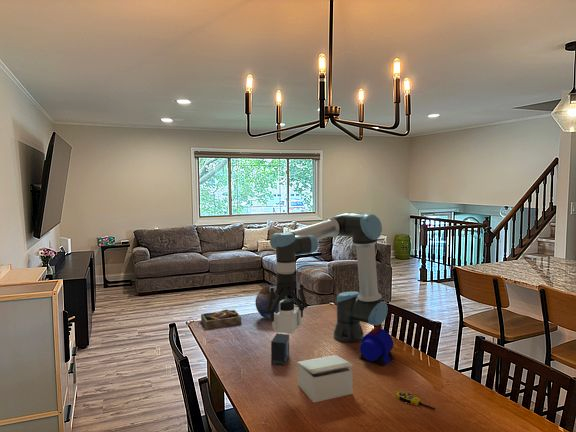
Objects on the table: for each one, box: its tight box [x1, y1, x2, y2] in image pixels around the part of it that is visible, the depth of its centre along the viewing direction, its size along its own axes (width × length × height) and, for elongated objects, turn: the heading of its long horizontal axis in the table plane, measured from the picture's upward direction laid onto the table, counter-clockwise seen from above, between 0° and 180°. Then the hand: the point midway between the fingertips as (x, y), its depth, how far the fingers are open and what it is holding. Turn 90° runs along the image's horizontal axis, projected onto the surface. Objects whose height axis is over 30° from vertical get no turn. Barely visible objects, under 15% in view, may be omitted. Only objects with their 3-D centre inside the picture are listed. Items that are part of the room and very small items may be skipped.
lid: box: [297, 354, 354, 374], centre depth 160 cm, size 17×14×1 cm
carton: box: [297, 363, 353, 403], centre depth 161 cm, size 16×14×9 cm
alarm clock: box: [359, 324, 395, 367], centre depth 187 cm, size 12×12×15 cm
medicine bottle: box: [275, 299, 299, 335], centre depth 168 cm, size 7×7×12 cm
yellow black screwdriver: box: [395, 391, 436, 411], centre depth 151 cm, size 5×2×15 cm
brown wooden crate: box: [205, 309, 238, 321], centre depth 242 cm, size 11×16×5 cm
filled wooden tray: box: [200, 309, 242, 329], centre depth 242 cm, size 20×15×4 cm
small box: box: [270, 333, 290, 366], centre depth 188 cm, size 11×6×10 cm, turn 168°
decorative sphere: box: [255, 284, 289, 320], centre depth 247 cm, size 19×20×20 cm
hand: (286, 327), depth 168 cm, fingers closed on medicine bottle, 10 cm apart
